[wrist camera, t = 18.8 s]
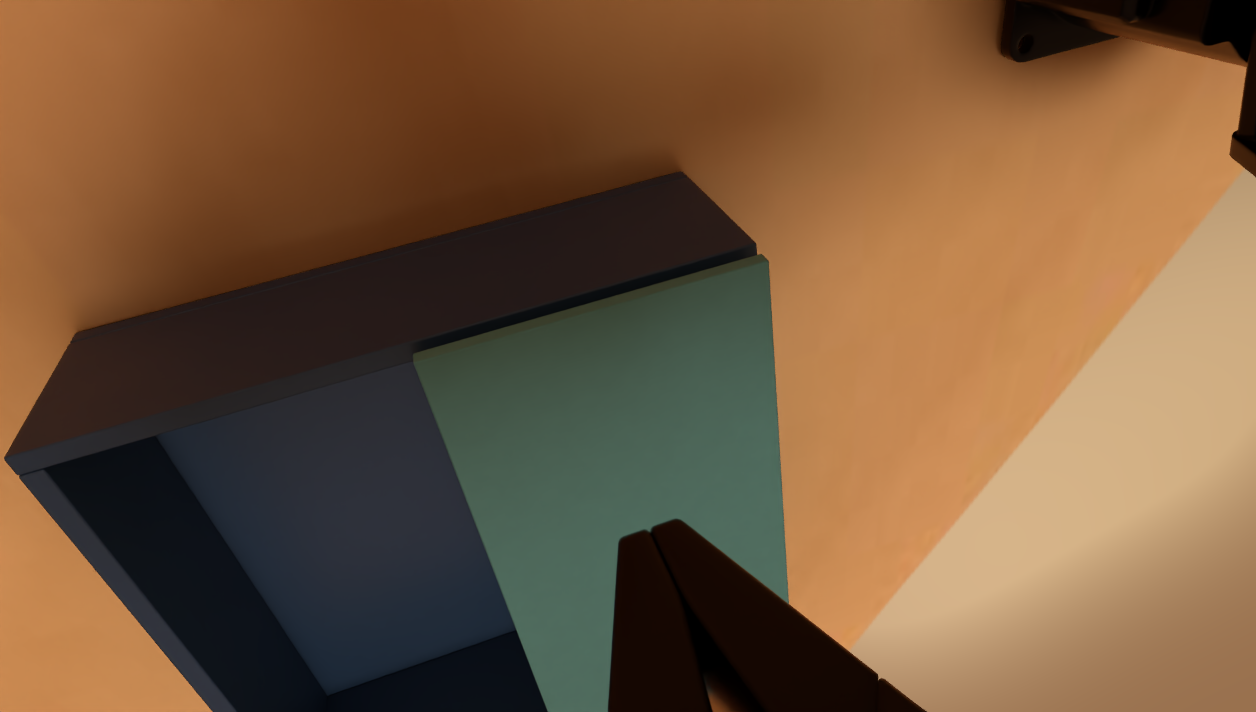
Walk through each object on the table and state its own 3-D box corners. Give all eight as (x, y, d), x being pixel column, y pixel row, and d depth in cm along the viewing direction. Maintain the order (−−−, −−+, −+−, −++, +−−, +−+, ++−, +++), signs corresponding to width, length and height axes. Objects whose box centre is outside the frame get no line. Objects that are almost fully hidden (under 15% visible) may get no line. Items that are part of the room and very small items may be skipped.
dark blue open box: (682, 170, 22) (757, 242, 18) (728, 553, 31) (785, 659, 27) (74, 332, 19) (1, 458, 15) (319, 696, 29) (313, 835, 25)
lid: (761, 252, 17) (769, 260, 17) (788, 668, 27) (793, 678, 26) (412, 353, 16) (413, 363, 16) (564, 751, 25) (567, 763, 25)
